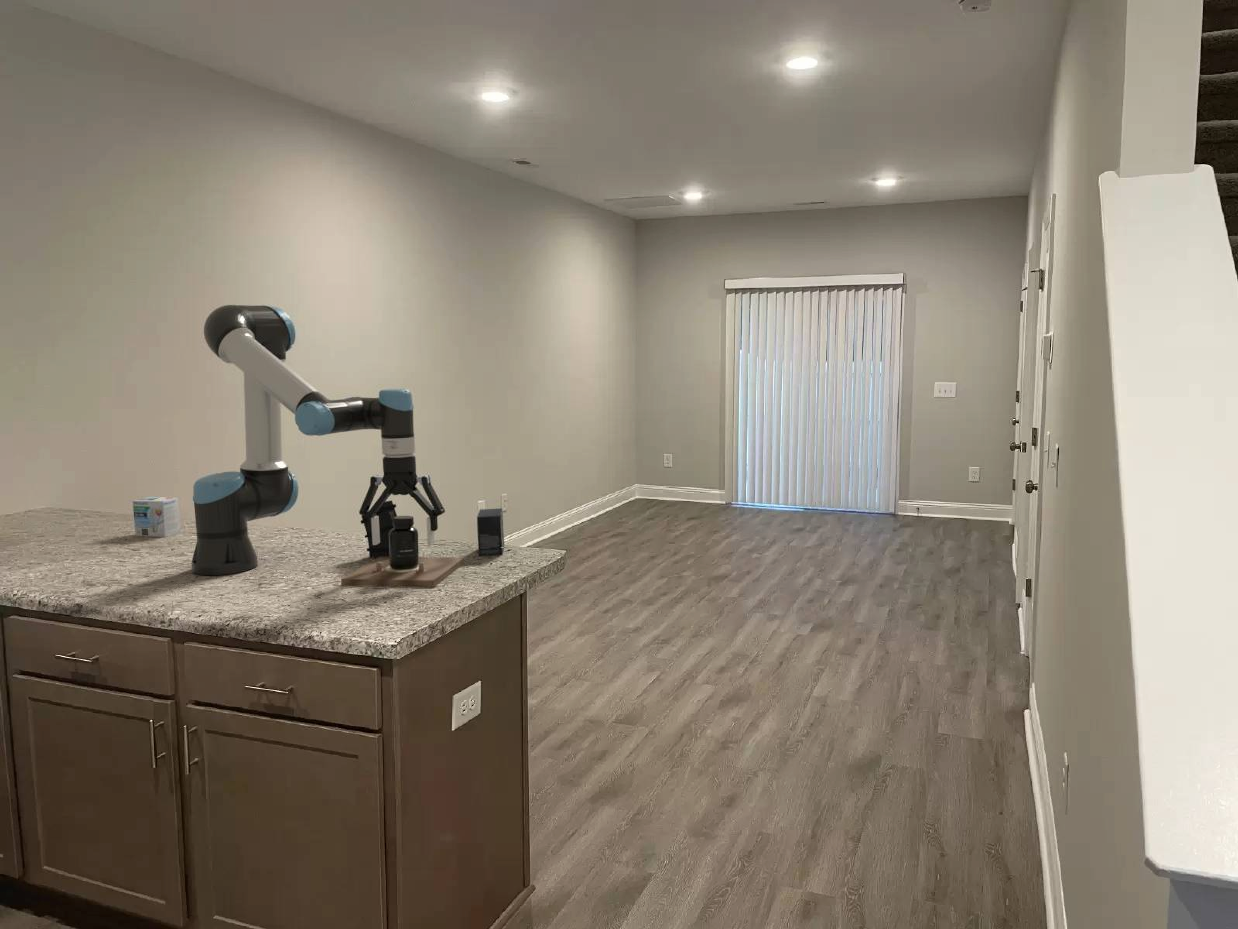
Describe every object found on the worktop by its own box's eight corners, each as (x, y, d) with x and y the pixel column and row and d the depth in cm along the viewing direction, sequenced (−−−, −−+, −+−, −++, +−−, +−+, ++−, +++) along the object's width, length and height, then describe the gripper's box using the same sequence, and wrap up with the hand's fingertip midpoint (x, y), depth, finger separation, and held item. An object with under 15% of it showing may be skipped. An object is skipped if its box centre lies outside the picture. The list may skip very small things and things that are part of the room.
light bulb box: (134, 536, 273) (131, 500, 271) (150, 531, 279) (147, 496, 278) (166, 537, 270) (162, 500, 269) (181, 532, 277) (178, 497, 275)
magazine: (400, 557, 230) (381, 501, 232) (373, 573, 238) (355, 519, 240) (413, 555, 233) (394, 499, 235) (385, 570, 241) (367, 516, 243)
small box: (480, 547, 248) (478, 508, 246) (504, 546, 248) (503, 507, 247) (477, 556, 237) (475, 516, 236) (503, 555, 238) (501, 515, 236)
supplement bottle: (404, 571, 215) (402, 520, 214) (383, 568, 219) (381, 518, 217) (425, 565, 221) (423, 516, 220) (404, 562, 225) (402, 513, 223)
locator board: (341, 585, 211) (340, 570, 211) (379, 562, 233) (378, 548, 232) (434, 587, 208) (433, 571, 207) (464, 563, 229) (463, 549, 229)
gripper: (341, 457, 215) (347, 547, 217) (444, 457, 211) (449, 548, 214) (355, 453, 222) (360, 540, 225) (455, 453, 218) (459, 541, 221)
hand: (403, 544), depth 219 cm, fingers open, 13 cm apart
